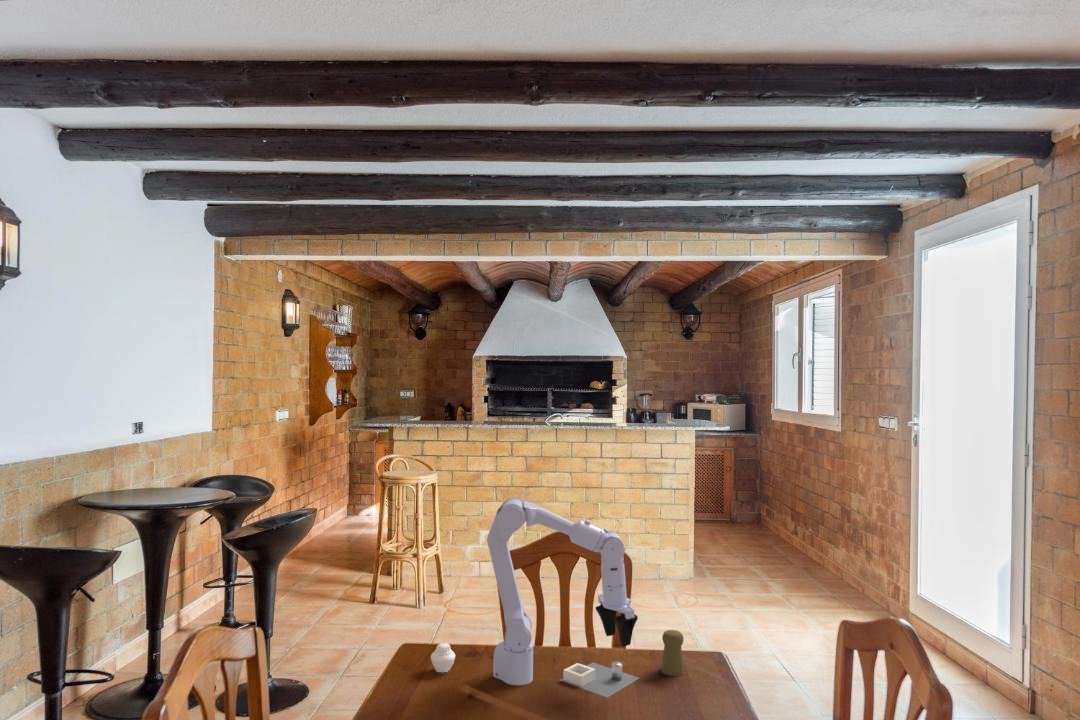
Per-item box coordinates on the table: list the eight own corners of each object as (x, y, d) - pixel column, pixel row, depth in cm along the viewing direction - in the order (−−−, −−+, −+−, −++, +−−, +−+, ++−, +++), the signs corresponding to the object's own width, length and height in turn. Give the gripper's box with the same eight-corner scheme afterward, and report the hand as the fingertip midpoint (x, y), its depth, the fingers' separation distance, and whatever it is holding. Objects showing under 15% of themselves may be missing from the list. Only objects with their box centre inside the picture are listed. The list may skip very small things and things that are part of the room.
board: (559, 685, 170) (559, 680, 170) (592, 667, 181) (592, 662, 181) (607, 702, 161) (607, 697, 161) (639, 682, 172) (639, 677, 172)
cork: (684, 682, 173) (685, 636, 173) (659, 679, 174) (660, 634, 174) (684, 672, 179) (685, 628, 179) (660, 669, 180) (661, 626, 180)
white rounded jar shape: (449, 664, 182) (450, 636, 182) (459, 673, 176) (459, 644, 176) (426, 668, 178) (427, 641, 179) (435, 678, 173) (436, 649, 173)
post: (609, 678, 171) (609, 663, 171) (615, 675, 173) (615, 660, 173) (618, 681, 170) (618, 666, 170) (624, 678, 172) (624, 663, 172)
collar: (563, 680, 170) (563, 669, 170) (577, 672, 174) (577, 662, 175) (582, 686, 167) (582, 676, 167) (595, 679, 171) (595, 669, 171)
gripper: (643, 588, 166) (648, 646, 166) (613, 573, 179) (617, 627, 179) (617, 593, 163) (621, 652, 163) (589, 578, 177) (593, 633, 176)
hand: (618, 640), depth 171 cm, fingers open, 7 cm apart
